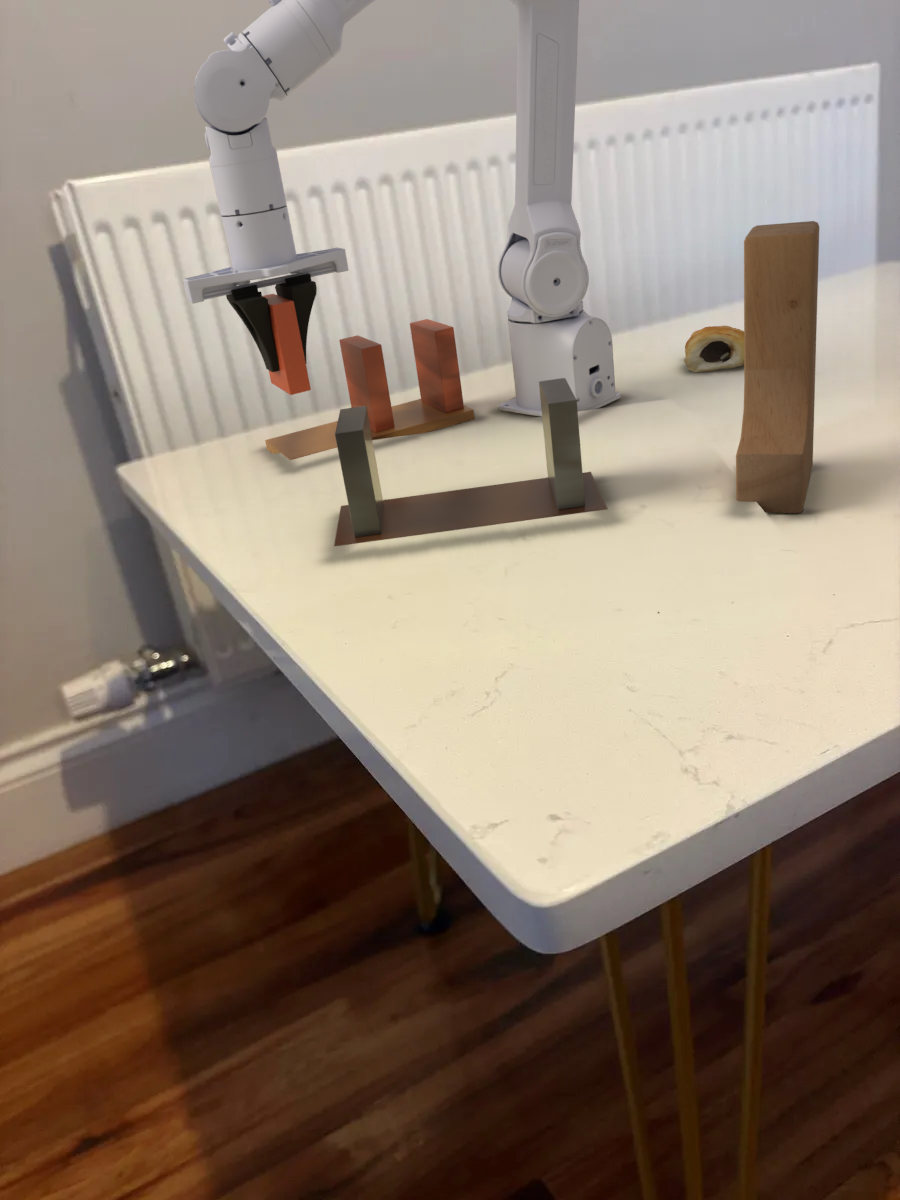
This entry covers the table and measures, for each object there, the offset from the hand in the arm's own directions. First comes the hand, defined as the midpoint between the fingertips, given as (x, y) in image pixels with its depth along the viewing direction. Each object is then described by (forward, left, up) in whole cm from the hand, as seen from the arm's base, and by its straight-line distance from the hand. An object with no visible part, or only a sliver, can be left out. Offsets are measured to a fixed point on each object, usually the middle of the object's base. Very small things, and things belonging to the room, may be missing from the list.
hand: (286, 366), depth 94 cm
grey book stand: (-26, +4, -8) cm, 28 cm away
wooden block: (-43, -11, -9) cm, 45 cm away
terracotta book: (0, 0, -2) cm, 2 cm away
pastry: (-20, -39, -9) cm, 45 cm away
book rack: (-2, -7, -8) cm, 11 cm away
